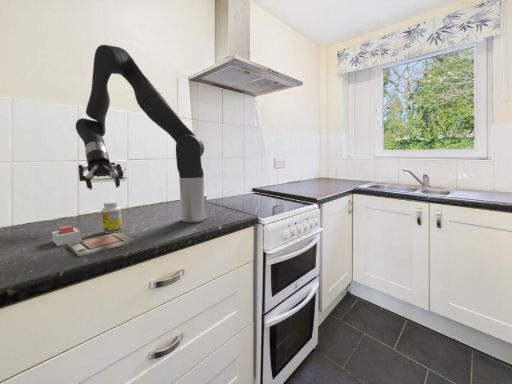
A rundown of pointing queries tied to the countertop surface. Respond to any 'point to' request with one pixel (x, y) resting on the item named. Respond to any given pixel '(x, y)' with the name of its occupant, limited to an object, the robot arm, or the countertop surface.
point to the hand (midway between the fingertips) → (104, 187)
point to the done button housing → (66, 237)
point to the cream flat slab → (99, 243)
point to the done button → (65, 229)
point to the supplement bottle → (112, 217)
